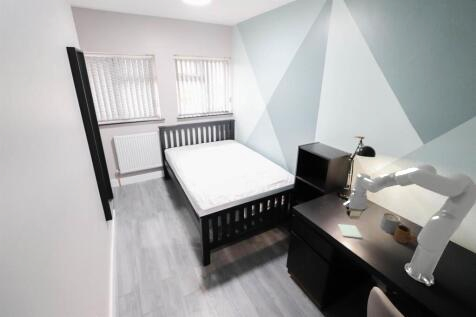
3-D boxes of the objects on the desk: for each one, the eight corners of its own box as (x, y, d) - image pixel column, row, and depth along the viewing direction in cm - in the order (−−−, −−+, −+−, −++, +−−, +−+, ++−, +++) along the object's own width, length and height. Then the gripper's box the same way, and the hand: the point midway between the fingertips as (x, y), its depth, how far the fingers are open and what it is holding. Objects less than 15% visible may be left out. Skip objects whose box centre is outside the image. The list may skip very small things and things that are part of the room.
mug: (416, 247, 138) (421, 235, 135) (408, 250, 136) (413, 238, 132) (398, 234, 149) (402, 223, 145) (390, 237, 146) (394, 225, 143)
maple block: (359, 219, 143) (361, 211, 141) (349, 218, 144) (351, 211, 142) (356, 214, 149) (358, 206, 146) (346, 213, 149) (348, 205, 147)
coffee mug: (377, 228, 155) (381, 216, 151) (382, 222, 161) (385, 210, 158) (400, 238, 146) (404, 225, 142) (403, 231, 152) (408, 219, 149)
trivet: (361, 238, 145) (361, 237, 144) (342, 236, 146) (342, 235, 146) (355, 226, 156) (355, 225, 155) (337, 224, 157) (337, 223, 157)
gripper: (347, 193, 137) (341, 217, 144) (376, 196, 135) (369, 220, 142) (343, 188, 144) (338, 210, 151) (371, 190, 142) (364, 213, 148)
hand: (353, 215), depth 146 cm, fingers closed on maple block, 6 cm apart
